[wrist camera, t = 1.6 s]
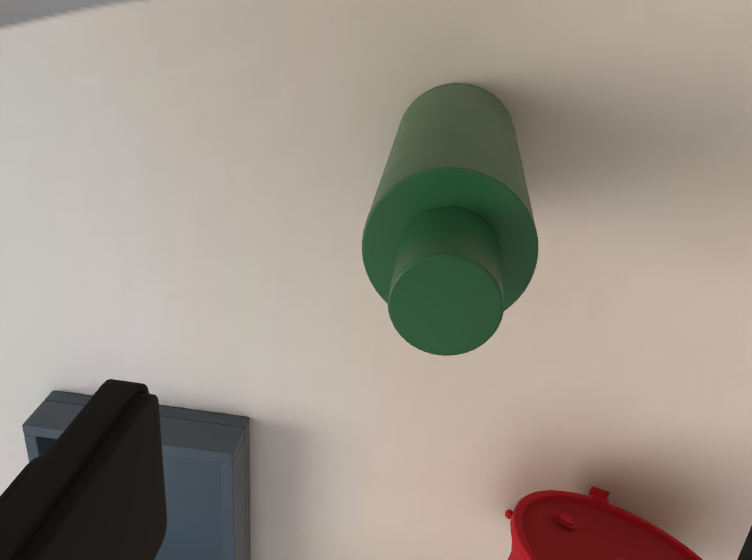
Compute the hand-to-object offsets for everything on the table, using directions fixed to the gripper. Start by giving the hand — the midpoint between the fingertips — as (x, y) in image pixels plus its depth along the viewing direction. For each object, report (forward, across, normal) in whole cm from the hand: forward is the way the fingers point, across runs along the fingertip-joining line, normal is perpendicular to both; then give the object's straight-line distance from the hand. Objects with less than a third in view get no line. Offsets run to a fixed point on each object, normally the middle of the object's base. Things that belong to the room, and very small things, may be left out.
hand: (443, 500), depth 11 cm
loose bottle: (+19, 0, 0) cm, 19 cm away
